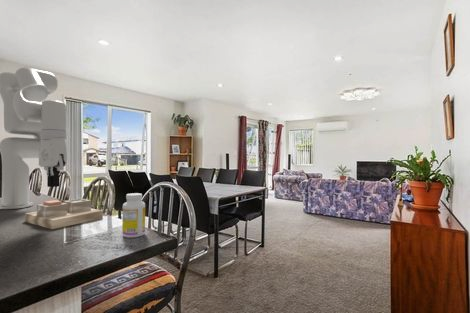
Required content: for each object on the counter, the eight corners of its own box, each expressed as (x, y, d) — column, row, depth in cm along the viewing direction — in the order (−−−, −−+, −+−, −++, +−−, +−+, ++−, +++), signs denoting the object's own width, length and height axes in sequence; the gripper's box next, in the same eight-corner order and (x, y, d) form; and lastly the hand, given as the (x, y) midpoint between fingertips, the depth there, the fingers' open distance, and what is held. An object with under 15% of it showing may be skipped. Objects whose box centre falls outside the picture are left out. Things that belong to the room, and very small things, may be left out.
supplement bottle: (137, 230, 87) (138, 192, 86) (149, 234, 82) (149, 194, 82) (118, 235, 81) (118, 194, 81) (129, 240, 77) (129, 196, 77)
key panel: (25, 221, 95) (25, 203, 95) (75, 212, 110) (75, 196, 110) (52, 229, 86) (52, 209, 86) (102, 218, 102) (102, 201, 102)
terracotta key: (43, 210, 93) (43, 201, 93) (55, 208, 97) (55, 200, 97) (49, 211, 92) (49, 202, 92) (61, 209, 95) (61, 201, 95)
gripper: (31, 135, 94) (30, 186, 94) (53, 133, 87) (53, 188, 87) (53, 137, 101) (53, 184, 101) (76, 135, 94) (76, 186, 94)
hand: (53, 186), depth 94 cm, fingers closed
